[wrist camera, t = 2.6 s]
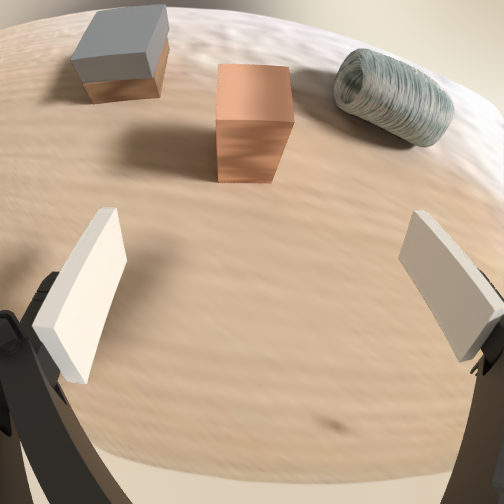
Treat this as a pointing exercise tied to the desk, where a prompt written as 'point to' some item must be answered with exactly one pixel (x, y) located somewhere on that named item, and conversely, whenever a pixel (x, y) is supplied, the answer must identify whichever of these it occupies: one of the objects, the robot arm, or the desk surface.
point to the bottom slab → (130, 85)
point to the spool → (393, 97)
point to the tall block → (252, 121)
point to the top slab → (122, 44)
